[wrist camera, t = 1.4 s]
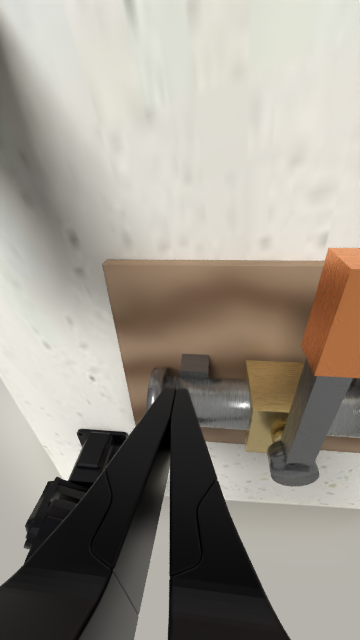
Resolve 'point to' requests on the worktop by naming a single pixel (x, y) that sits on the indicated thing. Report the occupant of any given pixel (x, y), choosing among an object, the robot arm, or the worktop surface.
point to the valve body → (250, 399)
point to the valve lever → (322, 369)
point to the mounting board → (211, 321)
